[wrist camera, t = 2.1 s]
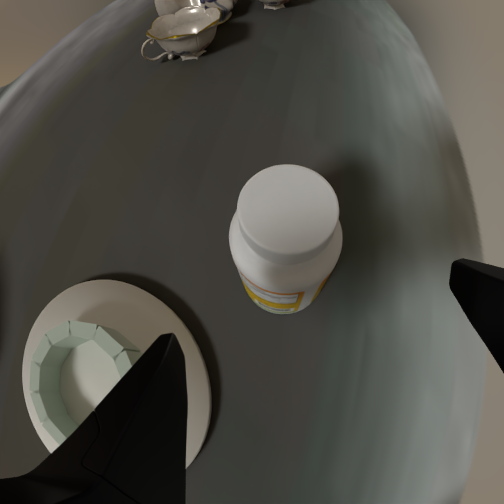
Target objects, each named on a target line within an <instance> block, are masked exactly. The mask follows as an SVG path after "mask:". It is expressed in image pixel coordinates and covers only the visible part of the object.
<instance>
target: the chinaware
mask: <svg viewBox="0 0 504 504" xmlns="http://www.w3.org/2000/svg"><path fill="white" fill-rule="evenodd" d="M237 1H238V0H155V6H156V9H157V12H158V14H159V16H160V17H157V18H156V19H155V20H154V21H153V23H152V26H151V29H150V30H148V31H147V34H146V35H147V36H148V37H149V38H150V39H148V40H147V41H145V42H144V44H143V45H142V49H141V52H142V55H143V57H144V58H145V59H146V60H149V61H155V60H158V59H159V58H161V57H162V56H163V55H165V54H169V55H168V59H169V60H171V59H172V58H173V57H174V55H179V56H181V58H182V59H183V60H186V59H194V58H196V59H198V57H199V56H200V55H202V54H203V53H204V52H207V51H205V50H203V49H205V48H206V47H207V46H208V45H209V44H210V43H211V42H212V40H213V38H214V36H215V34H216V29H217V25H219V24H222V23H224V22H226V21H227V20H229V19H230V18H231V16H232V12H231V11H232V9H233V7H234V5H235V4H236V3H237ZM258 1H259V2H261V3H263V4H264V6H265V7H264V8H269V9H274V10H276V9H279V8H285V7H284V5H283V4H284V3H287V2H288V1H290V0H258ZM152 40H153V41H152ZM155 40H156V41H157V42H158V43H159V44H160V46H161V47H162V48H163V49H164V50H166V51H167V52H165V53H163V54H161V55H160V56H158V57H156V58H148V57H146V56H145V54H144V47H145V45H146V44H147V43H148V42H149V41H150V43H151V44H153V42H154V41H155ZM183 60H182V61H183Z"/></svg>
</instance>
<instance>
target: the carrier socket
mask: <svg viewBox="0 0 504 504" xmlns="http://www.w3.org/2000/svg"><path fill="white" fill-rule="evenodd" d="M166 333H174V334H175V335H176V337H177V339H178V341H179V344H180V346H181V348H182V350H183V353H184V356H185V364H186V380H187V394H188V418H187V443H186V468H187V467H188V466H189V465H190V464H191V463H192V462H193V461H194V459H195V458H196V456H197V454H198V453H199V451H200V450H201V448H202V445H203V443H204V441H205V439H206V436H207V432H208V429H209V425H210V419H211V411H212V392H211V385H210V378H209V374H208V371H207V367H206V363H205V360H204V358H203V356H202V353H201V351H200V348H199V346H198V344H197V343H196V341H195V339H194V337H193V335H192V334H191V332H190V331H189V329H188V328H187V327H186V325H185V324H184V322H183V321H182V320H181V319H180V318H179V317H178V316H177V315H176V314H175V312H174V311H173V310H171V309H170V308H169V307H168V306H167V305H166V304H164V303H163V302H162V301H160V300H159V299H157V298H156V297H154V296H153V295H151V294H150V293H148V292H146V291H144V290H142V289H140V288H138V287H136V286H134V285H131V284H128V283H124V282H121V281H114V280H93V281H86V282H83V283H80V284H77V285H74V286H72V287H70V288H68V289H66V290H65V291H63V292H62V293H60V294H59V295H57V296H56V297H55V298H54V299H53V300H52V301H51V302H50V303H49V304H48V305H47V306H46V307H45V308H44V310H43V311H42V312H41V313H40V315H39V317H38V318H37V320H36V321H35V323H34V325H33V327H32V330H31V332H30V334H29V337H28V340H27V343H26V347H25V352H24V358H23V369H22V380H23V390H24V396H25V401H26V405H27V409H28V412H29V415H30V418H31V420H32V423H33V425H34V427H35V429H36V431H37V433H38V435H39V437H40V438H41V440H42V441H43V443H44V444H45V446H46V447H47V449H48V450H49V451H50V453H52V452H53V451H54V450H55V449H56V448H57V447H59V446H60V445H61V444H62V443H63V442H64V441H65V440H66V439H67V438H68V437H69V436H70V435H71V434H72V433H73V432H74V431H75V430H76V429H77V428H78V427H79V425H80V424H81V423H82V422H83V421H84V420H85V419H86V418H87V417H88V415H89V414H90V413H91V412H92V411H94V409H95V408H96V406H97V405H98V404H99V403H100V402H101V401H102V400H103V398H104V397H105V396H106V395H107V394H108V393H109V392H110V391H111V389H112V388H113V387H114V386H115V385H116V384H117V383H118V382H119V380H120V379H121V378H122V377H123V376H124V375H125V374H126V372H127V371H128V370H129V369H130V368H131V367H132V366H133V365H134V363H135V362H136V361H137V360H138V359H139V358H140V357H141V356H142V355H143V353H144V352H145V351H146V350H147V349H148V348H149V347H150V346H151V344H152V343H153V342H154V341H155V340H156V339H157V338H158V337H159V336H160V335H161V334H166Z"/></svg>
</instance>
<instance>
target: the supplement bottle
mask: <svg viewBox="0 0 504 504" xmlns="http://www.w3.org/2000/svg"><path fill="white" fill-rule="evenodd" d="M338 218H339V203H338V199H337V196H336V194H335V192H334V190H333V188H332V187H331V185H330V184H329V183H328V182H327V181H326V180H325V179H324V178H323V177H322V176H321V175H319V174H318V173H316V172H315V171H313V170H311V169H308V168H306V167H302V166H298V165H289V164H285V165H277V166H272V167H269V168H266V169H264V170H262V171H260V172H258V173H257V174H255V175H254V176H253V177H252V178H251V179H250V180H249V181H248V182H247V183H246V184H245V186H244V187H243V189H242V191H241V193H240V195H239V199H238V204H237V211H236V213H235V214H234V216H233V219H232V222H231V225H230V231H229V244H230V249H231V253H232V257H233V260H234V262H235V264H236V266H237V269H238V271H239V274H240V276H241V279H242V282H243V284H244V287H245V289H246V291H247V293H248V295H249V296H250V298H251V299H252V300H253V301H254V302H255V303H256V304H257V305H258V306H260V307H261V308H263V309H265V310H267V311H269V312H272V313H277V314H290V313H294V312H297V311H300V310H302V309H304V308H305V307H307V306H308V305H310V304H311V303H312V302H313V301H314V299H315V298H316V297H317V296H318V294H319V292H320V291H321V289H322V287H323V286H324V284H325V282H326V280H327V279H328V277H329V275H330V274H331V272H332V271H333V269H334V267H335V265H336V263H337V261H338V258H339V256H340V253H341V248H342V229H341V225H340V221H339V219H338Z"/></svg>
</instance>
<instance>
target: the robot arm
mask: <svg viewBox="0 0 504 504" xmlns="http://www.w3.org/2000/svg"><path fill="white" fill-rule="evenodd" d="M449 286H450V289H451V291H452V293H453V294H454V296H455V298H456V299H457V301H458V302H459V304H460V306H461V308H462V309H463V311H464V313H465V314H466V316H467V318H468V319H469V321H470V323H471V324H472V326H473V327H474V329H475V330H476V332H477V333H478V334H479V336H480V337H481V339H482V340H483V342H484V343H485V345H486V346H487V348H488V349H489V351H490V352H491V354H492V355H493V357H494V359H495V360H496V362H497V363H498V365H499V366H500V368H501V370H502V371H503V373H504V268H501V267H496V266H493V265H489V264H485V263H480V262H476V261H472V260H468V259H464V258H462V259H458V260H456V261H454V262H453V263H452V265H451V273H450V280H449ZM187 418H188V394H187V380H186V364H185V356H184V353H183V350H182V348H181V346H180V344H179V341H178V339H177V337H176V335H175V334H174V333H166V334H161V335H160V336H159V337H158V338H157V339H156V340H155V341H154V342H153V343H152V344H151V346H150V347H149V348H148V349H147V350H146V351H145V352H144V353H143V355H142V356H141V357H140V358H139V359H138V360H137V361H136V362H135V363H134V365H133V366H132V367H131V368H130V369H129V370H128V371H127V372H126V374H125V375H124V376H123V377H122V378H121V379H120V380H119V382H118V383H117V384H116V385H115V386H114V387H113V388H112V389H111V391H110V392H109V393H108V394H107V395H106V396H105V397H104V398H103V400H102V401H101V402H100V403H99V404H98V405H97V406H96V408H95V409H94V411H92V412H91V413H90V414H89V415H88V417H87V418H86V419H85V420H84V421H83V422H82V423H81V424H80V425H79V427H78V428H77V429H76V430H75V431H74V432H73V433H72V434H71V435H70V436H69V437H68V438H67V439H66V440H65V441H64V442H63V443H62V444H61V445H60V446H59V447H57V448H56V449H55V450H54V451H53V452H52V453H51V454H50V455H49V456H48V457H47V458H46V459H45V460H44V461H43V462H42V463H41V464H40V465H38V466H37V467H36V468H35V469H34V470H32V471H31V472H29V473H27V474H25V475H22V476H19V477H13V478H5V479H0V504H185V489H186V443H187Z"/></svg>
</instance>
